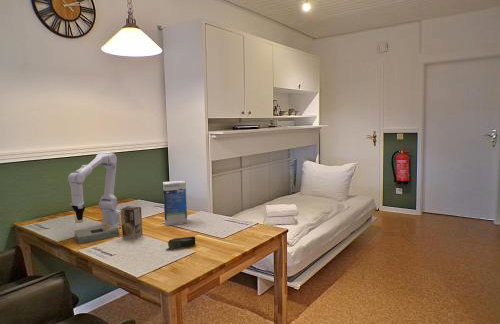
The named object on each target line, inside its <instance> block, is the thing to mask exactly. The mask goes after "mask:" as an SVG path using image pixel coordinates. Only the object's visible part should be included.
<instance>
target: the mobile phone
mask: <svg viewBox="0 0 500 324" xmlns="http://www.w3.org/2000/svg"><path fill="white" fill-rule="evenodd" d="M167 245H168V246H167V247H168V248H166V249H165V251H170V250H177V249H182V248H183V249H184V248H190V247H195V245H196V236H184V237H175V238H172V239H169V240H168V242H167Z"/></svg>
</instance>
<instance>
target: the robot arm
mask: <svg viewBox="0 0 500 324" xmlns="http://www.w3.org/2000/svg"><path fill="white" fill-rule="evenodd" d="M117 161H118V157H117V156H116V154H115V153H114V152H112V153H111V152H110V153H109V152H108V153H107V152H98V154H96V156H95V158H94V159H92V160H91V161H90V162H89V163H88V164H82V165H81V166H80V167H79V169H76V170H75V171H74V172H71V173H69V174H68V176H67V178H66V179H67V182H68V183H69V186H70V194H71V202H70V203H69V205H70V206H71V208H72V210H73V212H74V211H75V213H76V216H77V219H78V220H82V218H83V219H84V212H85V210H86V206H84V204H85V201H84V189H83V187H84V186H83V183H84V182H85V180H86V178H87V177H88V176H89V175H90V174H92V172H93V170H94V169H95V168H96V167H98V166H100V165H102V166H103V167H104V168H105V169H106V171H105V172H106V173H105V180H104V181H105V182H104V192H103V195H102V196H101V197H100V200H99V202H98V209H100V211H101V212H102V213H101V214H102V222H101V223H100V224H101V226H103V225H104V222H106V223H108V224H118V225H119V226H120V225H121V215H120V211H119V209H117V208H118V198H117V197H116V195H114V193H115V183H116V174H117V173H116V171H117Z"/></svg>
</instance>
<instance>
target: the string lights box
mask: <svg viewBox="0 0 500 324" xmlns="http://www.w3.org/2000/svg"><path fill="white" fill-rule="evenodd" d="M186 185H187V183H186V182H185V180H173V181H162V186H163V187H162V193H163V195H162V196H163V207H164V208H163V211H164V212H163V214H164V224H165V226H175V224H176V225H183V224H184V223H185V224H188V211H187V207H188V206H187V186H186Z"/></svg>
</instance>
